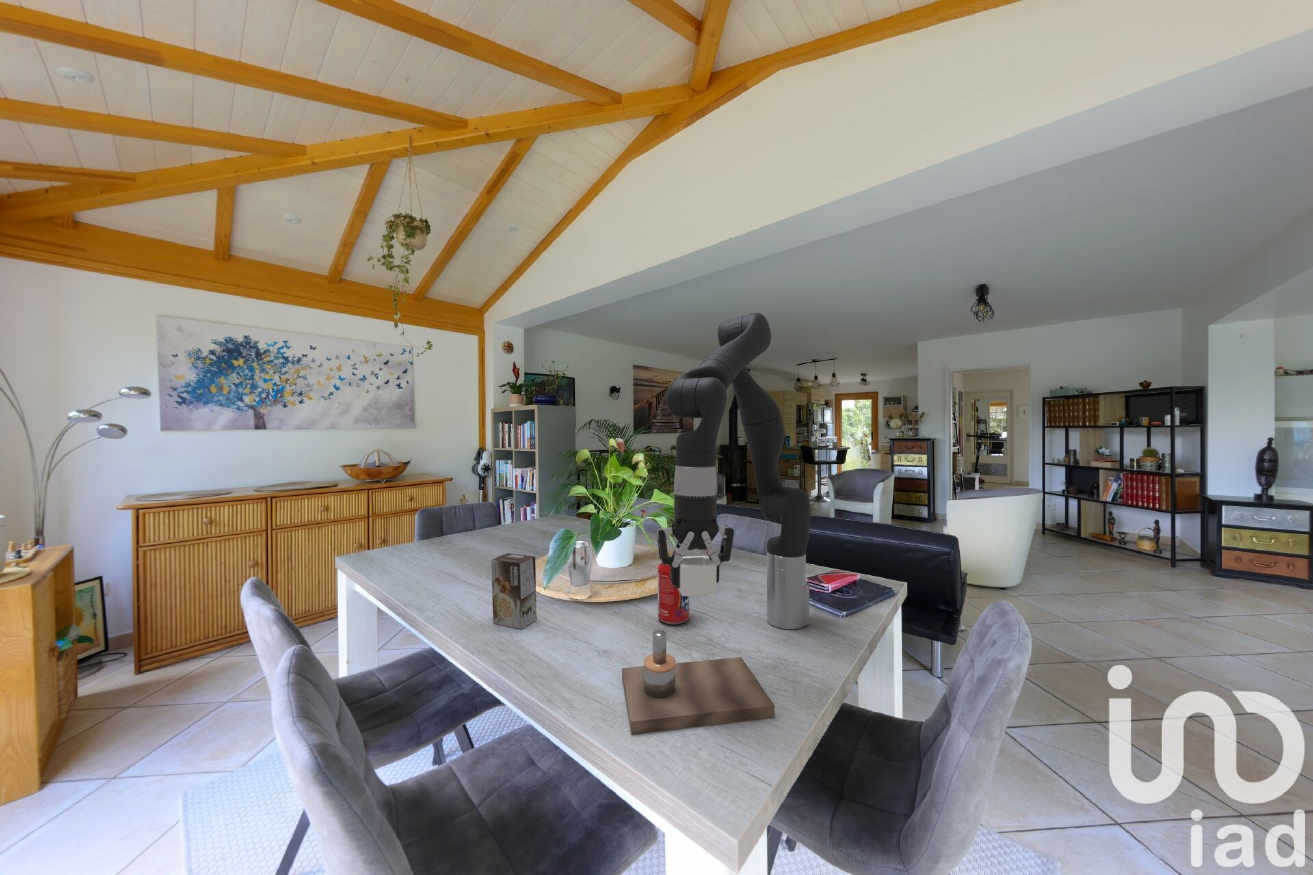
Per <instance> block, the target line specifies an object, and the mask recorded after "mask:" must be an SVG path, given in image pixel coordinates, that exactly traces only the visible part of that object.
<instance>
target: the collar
mask: <svg viewBox="0 0 1313 875" xmlns="http://www.w3.org/2000/svg"><path fill="white" fill-rule="evenodd" d="M679 567H680V588H677V589H678V590H679V592H680V593H681V595H682V596H689V597H690V596H706V595H708V596H710V595H717V583H716V570H717V565H716V564H715V563H714V562H713V561H712V560H711V559H710V558H709V557H708V555H691V556H689V555H687V556H685V555H684V556H683V557H682V559H681V562H680V564H679Z"/></svg>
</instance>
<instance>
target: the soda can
mask: <svg viewBox="0 0 1313 875" xmlns="http://www.w3.org/2000/svg"><path fill="white" fill-rule="evenodd" d="M659 561H660V562H659V564H658V566H657V618H658V620H660V621H661V622H663V623H665V624H667V625H672V626H673V625H674V626H675V625H681V624H683V623H685V622H687V621H688V620H689V619H690V596H682V595H681V593H680V592H679V590H678V589H677V588H675V587H674V585H672V583H671V581H670V565H667V564H663V563H662V561H661V560H660V559H659Z"/></svg>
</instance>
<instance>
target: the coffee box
mask: <svg viewBox="0 0 1313 875" xmlns="http://www.w3.org/2000/svg"><path fill="white" fill-rule="evenodd" d="M490 561H491V563H490V564H491V588H492V589H491V590H492V591H491V594H492V595H491V598H492V599H491V600H492V624H494V625H499V626H505V627H509V628H514V629H520V630H523V629H525V628H526V627H527V626H529V625H531V624H533V623H534V622H535V621H536V620H538V618H537V616H538V615H537V612H538V611H537V576H536V575H537V573H536V556H535V555H527V554H519V553H518V554H517V553H511V552H510V553H509V552H508V553H504V554H501V555H499V556H496V557H495V558H493V559H491V560H490Z"/></svg>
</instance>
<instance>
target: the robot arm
mask: <svg viewBox="0 0 1313 875" xmlns="http://www.w3.org/2000/svg"><path fill="white" fill-rule="evenodd" d="M717 340H718V344H719V347H718V348H716V349H714V350H713V351H712V352H710V353H709V354H708V355H707V356H706V357H705V359H703V360H702V361H701V363H699V365H698V366H695V367H694V368H691V369H689V370H688V371H686V372H684V373H682V374H680V375H678V376H677V377H676V378H675V379H673V381H671V383H670V384H669V386H668V388H667V390H666V391H667V392H666V396H665V403H666V404H665V405H666V408H667V409H668V411H669V413H671V414H672V415H673V416H674V417H676V418H681V419H700V422H699V425H698V426H697V427H696V428H695V429H693V430H690V431H685V432H682V433H680V434H678V435H677V436H676V442H675V471H674V480H673V482H674V483H673V490H674V491H673V522H672V525H671V526H670V527H665V528H662V527H657V528H656V529H655V530H656V531H655V533H656V540H657V541H656V542H657V548H658V554H659V561H660V560H661V561H662V563H663V564H667V565H670V581H671V583H672V585H674V587H675V588H680V567H679V564H680V562H681V559H682V557H685V555H686V554H687V551H693V550H704V551H705V552H706V553H707V556H708V557H709V558H710V559H711V560H712V561H713V562H714V563H715V564H716V565H717V570H716V584H718V583H719V581H720V566H721V564H722V563H724V562H727V563H728V562H729V561H730V559H731V555H732V548H733V541H734V540H733V539H734V534H735V530H734V528H732V527H731V526H730V525H724V526H721V525H718V521H717V518H718V516H717V513H718V512H717V511H718V510H717V508H718V507H717V506H718V503H717V500H718V488H719V487H718V477H717V468H716V466H717V465H716V464H717V461H716V460H717V457H716V456H717V440H718V436H719V431H720V427H721V423H722V420H723V417H724V413H725V410H726V406H727V401H728V394H727V393H728V392H727V390H728V389H729V388H730V386H731V385H732V388H733V391H734V394H735V398H736V402H737V405H738V411H739V414H740V419H741V420H740V421H741V424H742V429H743V432H744V436H745V439H746V442H747V445H748V450H749V454H750V460H751V462H752V468H753V472H754V479H755V484H756V491H757V497H758V498H757V499H758V504H759V508H760V511H761V514H762V516H763V517H764V518H765V519H766V520H767V521H769V522H773V523H775V524H780V525H781V526H780V534H779V535H776V536H772V537H770V538H768V540H767V542H766V621H767V623H768V624H770V625H771V626H773V627H776V628H779V629H785V630H799V629H801V628H804V627H805V626H810V586H809V585H808V584H807V583H806V582H807V581H806V580H807V565H806V564H807V559H806V558H807V546H808V543H809V540H810V527H811V526H810V524H811V513H812V512H811V501H810V497H809V495H808V494H807V492H806V491H805V490H804V489H801V488H798V487H797V488H796V487H789V486H784V485H783V483H782V479H781V475H780V471H779V459H780V457H781V456H780V455H781V452H782V450H783V447H784V443H785V436H786V431H785V426H784V421H783V418H782V413H781V409H780V407H779V406H780V405H778V403H777V401H776V400H775V399H774V398H773V397H772V396H771V395H770V394H769V393H768V392H767V391H766V390H765V388H764V389H763V388H762V387H761V385H759V383H758V382H757V381H756V380H755V379H754V377H753V376H752V375H751V373H750V371H749V369H748V367H747V366H748V365H750V364H751V362H753V361H754V360H755V359H757V357H759V356H760V355H762V354H763V353H765V351H767V350H768V348H769V347H770V345H771V341H772V332H771V327H770V324H769V321H768V319H767V318H766V315H764V314H762V313H760V312H750V313H747V314H742V315H740V316H736V317H733V318H730V319H726V320H723V321H722V322H720V324H719V325H718V328H717ZM718 533H719V537H720V538H721V542H720V549H719V553H717V550H716V548H715V545H714V543H713V540H714V539H715V538H716V536H717V535H718ZM672 534H673V536H674V537H675V539H676V543H675V544H674V547H673V551H672V554H671V555H669V551H668V544H667V542H668V541H669V540H670V536H671V535H672Z"/></svg>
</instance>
